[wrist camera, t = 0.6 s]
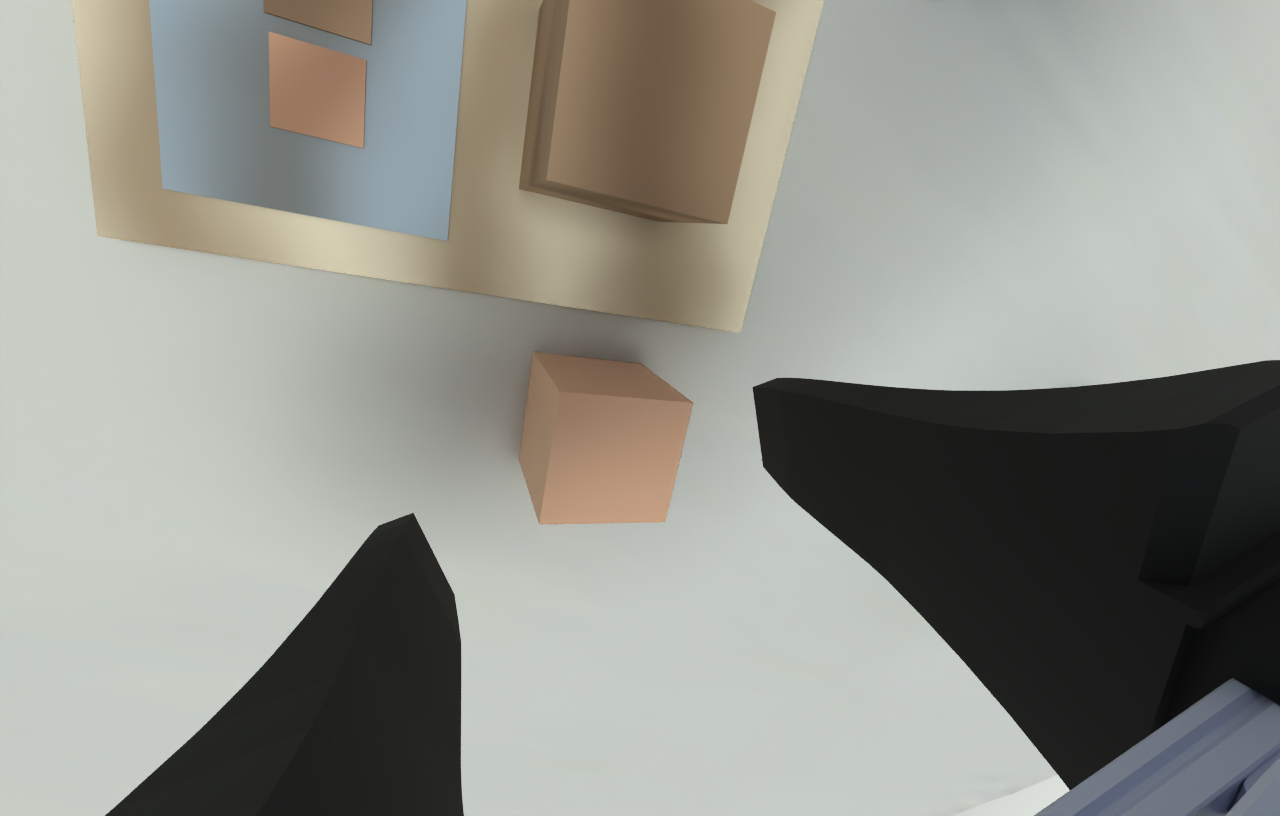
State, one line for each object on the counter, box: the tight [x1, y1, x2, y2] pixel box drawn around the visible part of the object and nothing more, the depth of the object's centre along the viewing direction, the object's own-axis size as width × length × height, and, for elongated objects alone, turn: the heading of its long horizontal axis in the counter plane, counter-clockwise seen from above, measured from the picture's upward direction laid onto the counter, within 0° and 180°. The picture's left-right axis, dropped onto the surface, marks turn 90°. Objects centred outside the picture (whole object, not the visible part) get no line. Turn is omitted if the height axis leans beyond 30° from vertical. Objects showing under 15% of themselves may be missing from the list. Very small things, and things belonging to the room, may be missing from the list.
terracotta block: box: [519, 352, 693, 524], centre depth 19 cm, size 4×4×5 cm
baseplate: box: [72, 0, 824, 333], centre depth 14 cm, size 20×12×6 cm, turn 78°
